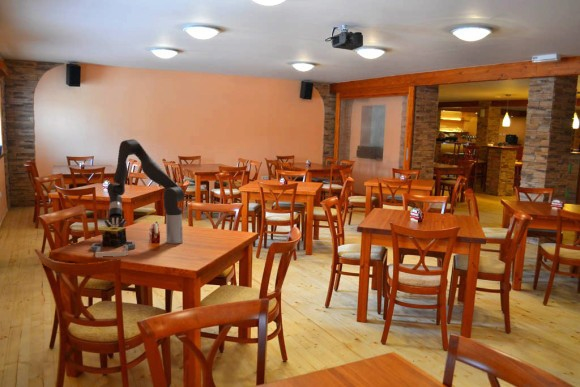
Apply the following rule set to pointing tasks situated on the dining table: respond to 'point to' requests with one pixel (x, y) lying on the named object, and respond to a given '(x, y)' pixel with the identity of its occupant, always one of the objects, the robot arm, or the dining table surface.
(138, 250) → the dining table surface
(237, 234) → the dining table surface
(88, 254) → the dining table surface
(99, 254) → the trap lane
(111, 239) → the candle
